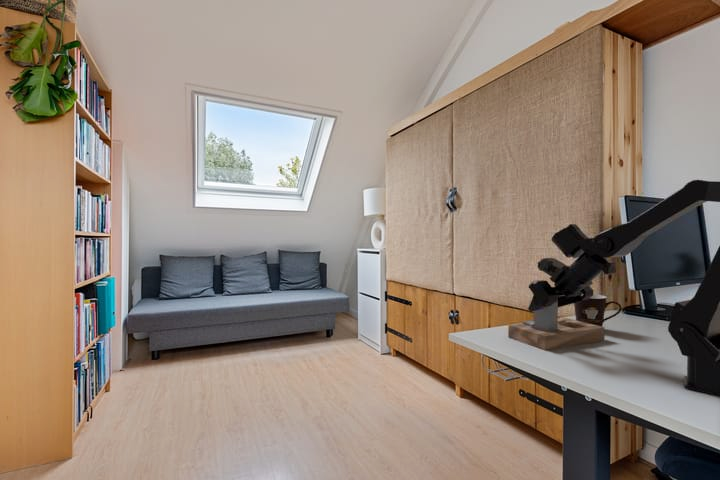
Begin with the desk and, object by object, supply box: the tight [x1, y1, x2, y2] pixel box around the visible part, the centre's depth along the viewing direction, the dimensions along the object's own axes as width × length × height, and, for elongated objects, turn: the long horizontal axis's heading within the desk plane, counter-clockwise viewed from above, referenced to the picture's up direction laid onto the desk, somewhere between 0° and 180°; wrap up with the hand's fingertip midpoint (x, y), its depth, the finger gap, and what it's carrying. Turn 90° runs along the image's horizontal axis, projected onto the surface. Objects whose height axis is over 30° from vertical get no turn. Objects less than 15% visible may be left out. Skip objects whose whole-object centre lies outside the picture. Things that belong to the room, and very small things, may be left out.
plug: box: [533, 301, 559, 332], centre depth 97 cm, size 4×4×14 cm
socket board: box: [507, 317, 605, 351], centre depth 100 cm, size 12×22×4 cm, turn 112°
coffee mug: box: [573, 293, 622, 327], centre depth 109 cm, size 12×9×10 cm
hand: (540, 308), depth 98 cm, fingers open, 9 cm apart
